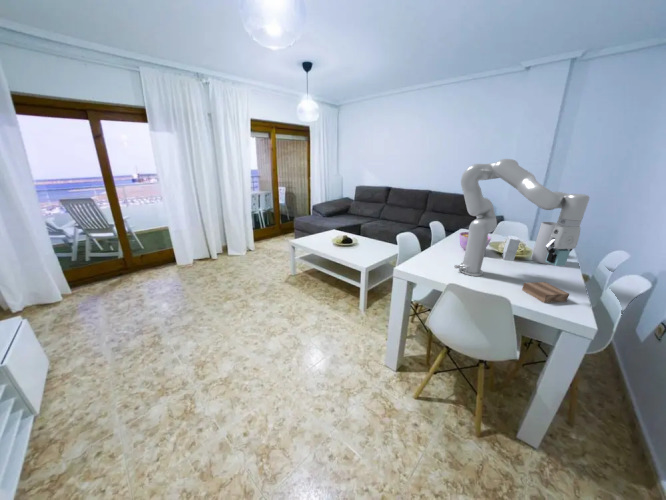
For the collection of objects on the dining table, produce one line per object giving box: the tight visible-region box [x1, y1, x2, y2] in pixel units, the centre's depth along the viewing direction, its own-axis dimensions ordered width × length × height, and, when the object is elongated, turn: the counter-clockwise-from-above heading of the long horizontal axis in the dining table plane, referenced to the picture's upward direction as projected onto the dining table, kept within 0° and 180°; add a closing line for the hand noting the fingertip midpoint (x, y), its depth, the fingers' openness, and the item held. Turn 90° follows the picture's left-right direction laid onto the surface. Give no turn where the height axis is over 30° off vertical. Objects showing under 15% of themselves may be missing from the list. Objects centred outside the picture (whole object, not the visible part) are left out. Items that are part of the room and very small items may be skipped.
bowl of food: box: [459, 231, 492, 251], centre depth 179 cm, size 20×20×12 cm
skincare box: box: [501, 235, 521, 262], centre depth 166 cm, size 8×6×15 cm
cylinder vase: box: [530, 221, 557, 265], centre depth 161 cm, size 12×12×25 cm
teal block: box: [545, 248, 571, 267], centre depth 114 cm, size 5×5×7 cm
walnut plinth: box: [521, 281, 570, 304], centre depth 121 cm, size 12×12×4 cm
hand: (555, 261), depth 115 cm, fingers closed on teal block, 5 cm apart
